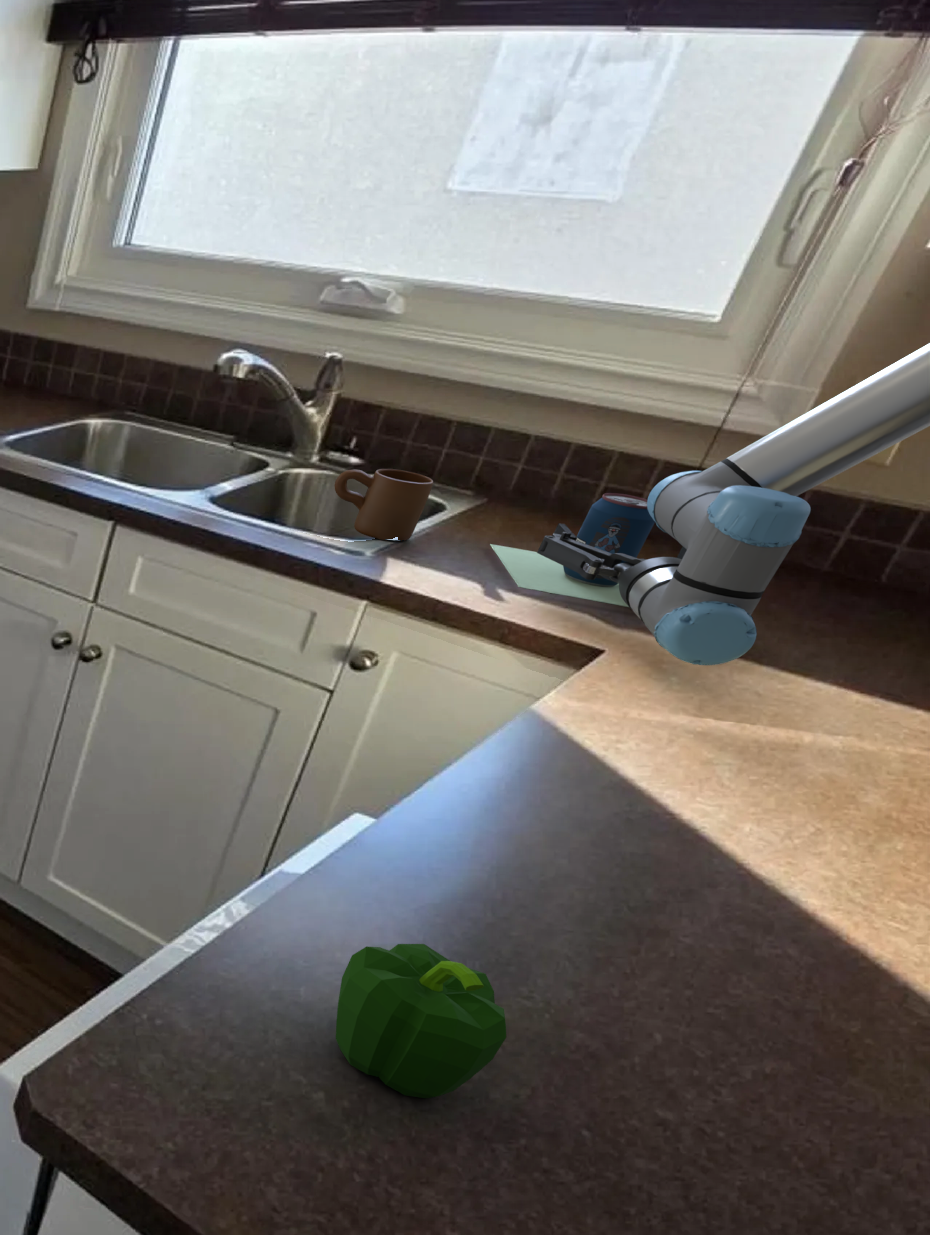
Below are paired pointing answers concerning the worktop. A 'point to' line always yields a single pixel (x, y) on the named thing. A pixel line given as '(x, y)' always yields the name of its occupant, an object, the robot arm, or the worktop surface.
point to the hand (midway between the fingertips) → (618, 542)
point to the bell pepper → (417, 1019)
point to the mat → (551, 577)
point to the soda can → (614, 530)
